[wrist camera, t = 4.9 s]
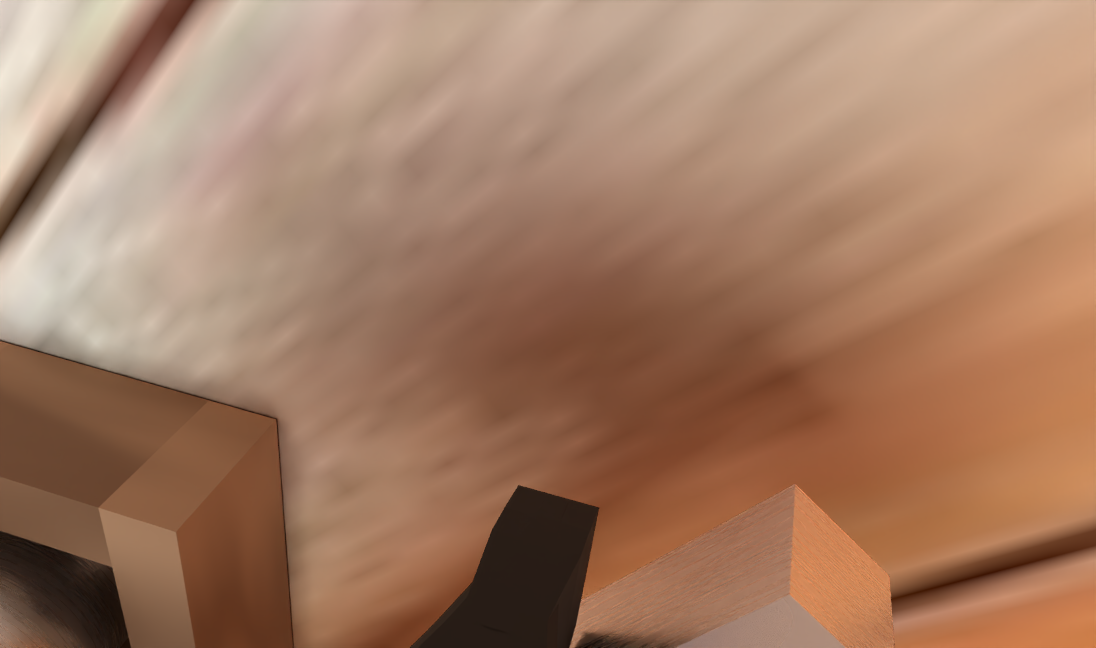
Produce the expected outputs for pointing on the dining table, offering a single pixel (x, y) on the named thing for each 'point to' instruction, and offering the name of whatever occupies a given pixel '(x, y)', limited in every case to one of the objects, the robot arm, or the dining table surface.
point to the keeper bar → (749, 588)
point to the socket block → (149, 499)
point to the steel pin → (56, 599)
